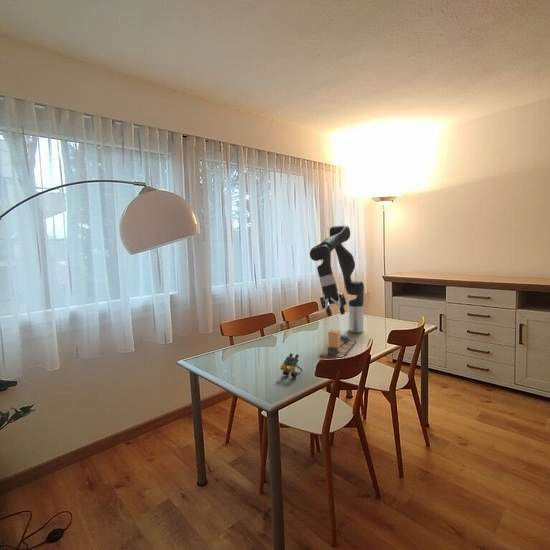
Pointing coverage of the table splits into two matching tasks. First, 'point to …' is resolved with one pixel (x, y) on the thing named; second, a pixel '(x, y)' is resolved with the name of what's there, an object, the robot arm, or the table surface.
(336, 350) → the track
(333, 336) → the tan wooden tall block
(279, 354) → the table surface
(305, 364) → the table surface
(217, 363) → the table surface
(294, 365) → the green yellow plastic figure
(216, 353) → the table surface
